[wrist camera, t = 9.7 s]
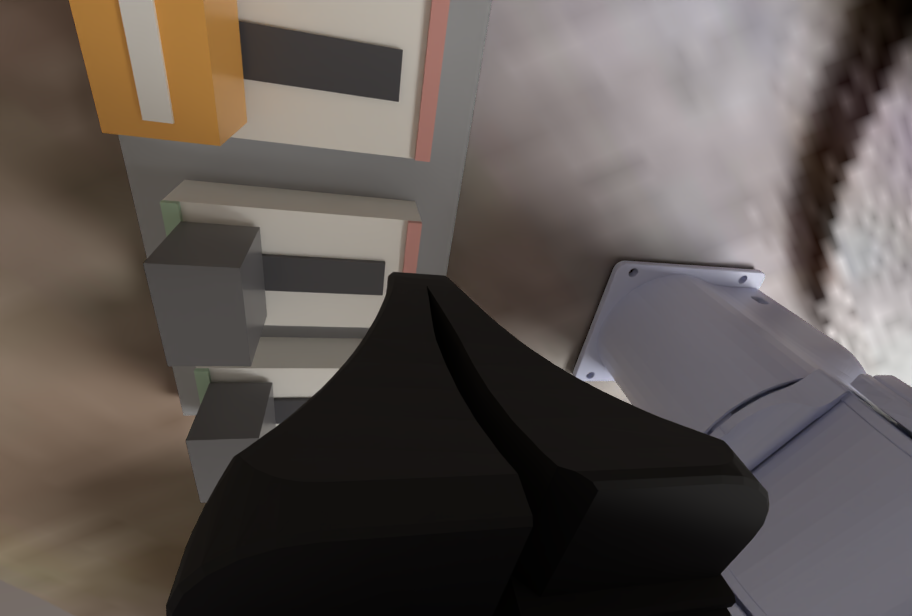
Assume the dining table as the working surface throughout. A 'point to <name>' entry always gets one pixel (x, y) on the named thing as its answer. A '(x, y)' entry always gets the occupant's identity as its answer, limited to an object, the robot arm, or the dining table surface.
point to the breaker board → (304, 204)
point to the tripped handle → (164, 67)
